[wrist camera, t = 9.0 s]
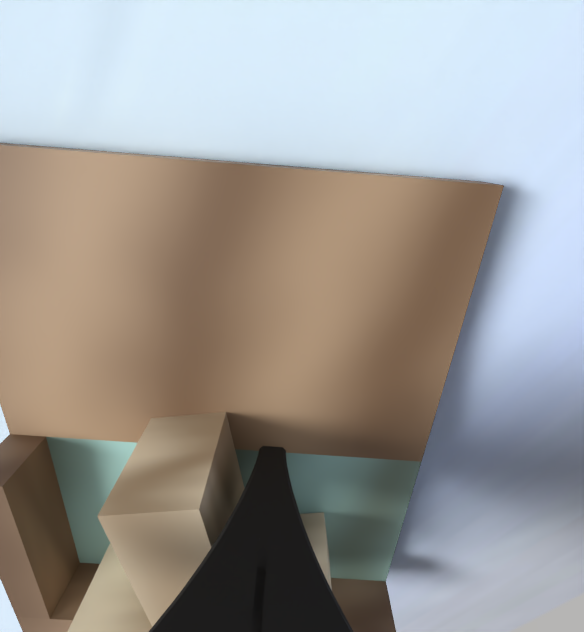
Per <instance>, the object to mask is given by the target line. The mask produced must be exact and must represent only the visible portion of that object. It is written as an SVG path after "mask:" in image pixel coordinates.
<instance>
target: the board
mask: <svg viewBox="0 0 584 632" xmlns="http://www.w3.org/2000/svg"><path fill="white" fill-rule="evenodd" d="M503 187H504V185H498V184H492V183H486V182H480V181H467V180H455V179H442V178H430V177H418V176H405V175H393V174H380V173H368V172H356V171H343V170H331V169H318V168H306V167H293V166H281V165H269V164H256V163H244V162H231V161H219V160H207V159H194V158H182V157H169V156H157V155H145V154H132V153H120V152H107V151H95V150H83V149H70V148H58V147H45V146H33V145H21V144H8V143H0V404H1V407H2V411H3V414H4V417H5V420H6V423H7V426H8V429H9V432H10V435H9V436H8V437H7V438H6V439H5V440H4V441H3V442H2V443H1V444H0V579H1V581H2V584H3V586H4V588H5V591H6V593H7V595H8V598H9V600H10V602H11V605H12V607H13V609H14V612H15V614H16V616H17V619H18V621H19V624H20V626H21V628H22V631H23V632H68V629H69V627H70V625H71V623H72V621H73V619H74V617H75V615H76V613H77V611H78V609H79V607H80V605H81V602H82V600H83V598H84V596H85V594H86V592H87V590H88V588H89V586H90V584H91V582H92V580H93V577H94V575H95V573H96V571H97V569H98V567H99V565H100V563H101V561H102V559H103V557H104V555H105V553H106V550H107V548H108V546H109V544H110V541H109V539H108V537H107V535H106V533H105V531H104V529H103V527H102V525H101V523H100V521H99V519H98V517H97V516H98V514H99V512H100V510H101V508H102V507H103V505H104V503H105V501H106V499H107V498H108V496H109V494H110V492H111V490H112V488H113V487H114V485H115V483H116V481H117V479H118V478H119V476H120V474H121V472H122V470H123V469H124V467H125V465H126V463H127V461H128V459H129V458H130V456H131V454H132V452H133V450H134V449H135V447H136V445H137V443H138V441H139V439H140V438H141V436H142V434H143V432H144V430H145V429H146V427H147V425H148V423H149V421H150V420H151V418H163V417H174V416H186V415H197V414H209V413H221V412H226V414H227V418H228V422H229V426H230V431H231V435H232V439H233V443H234V447H235V451H236V455H237V459H238V464H239V468H240V472H241V476H242V480H243V484H244V488H245V486H246V484H247V482H248V480H249V478H250V475H251V473H252V471H253V468H254V465H255V463H256V460H257V457H258V453H259V449H260V448H261V447H262V446H272V447H283V448H284V449H285V450H286V460H287V467H288V472H289V477H290V481H291V486H292V489H293V493H294V496H295V500H296V503H297V506H298V510H299V513H300V514H306V513H321V512H324V517H325V525H326V534H327V542H328V550H329V561H330V574H331V587H332V592H333V594H334V596H335V598H336V600H337V602H338V604H339V606H340V607H341V609H342V611H343V613H344V615H345V617H346V619H347V621H348V622H349V624H350V626H351V628H352V630H353V632H396V630H395V625H394V620H393V615H392V610H391V605H390V600H389V595H388V590H387V585H386V578H387V575H388V572H389V568H390V565H391V562H392V558H393V555H394V552H395V548H396V545H397V542H398V538H399V535H400V532H401V528H402V525H403V521H404V518H405V515H406V511H407V508H408V505H409V501H410V498H411V495H412V491H413V488H414V485H415V481H416V478H417V475H418V471H419V468H420V465H421V461H422V458H423V454H424V451H425V448H426V444H427V441H428V438H429V434H430V431H431V428H432V424H433V421H434V418H435V414H436V411H437V408H438V404H439V401H440V398H441V394H442V391H443V387H444V384H445V381H446V377H447V374H448V371H449V367H450V364H451V361H452V357H453V354H454V351H455V347H456V344H457V341H458V337H459V334H460V331H461V327H462V324H463V321H464V317H465V314H466V310H467V307H468V304H469V300H470V297H471V294H472V290H473V287H474V284H475V280H476V277H477V274H478V270H479V267H480V264H481V260H482V257H483V254H484V250H485V247H486V243H487V240H488V237H489V233H490V230H491V227H492V223H493V220H494V217H495V213H496V210H497V207H498V203H499V200H500V197H501V193H502V190H503Z"/></svg>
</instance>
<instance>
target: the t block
mask: <svg viewBox="0 0 584 632" xmlns="http://www.w3.org/2000/svg"><path fill="white" fill-rule="evenodd" d="M244 489H245V488H244V484H243V480H242V476H241V472H240V468H239V464H238V459H237V455H236V451H235V447H234V443H233V439H232V435H231V431H230V426H229V422H228V418H227V414H226V412H221V413H209V414H197V415H186V416H174V417H163V418H151V420H150V421H149V423H148V425H147V427H146V429H145V430H144V432H143V434H142V436H141V438H140V439H139V441H138V443H137V445H136V447H135V449H134V450H133V452H132V454H131V456H130V458H129V459H128V461H127V463H126V465H125V467H124V469H123V470H122V472H121V474H120V476H119V478H118V479H117V481H116V483H115V485H114V487H113V488H112V490H111V492H110V494H109V496H108V498H107V499H106V501H105V503H104V505H103V507H102V508H101V510H100V512H99V514H98V516H97V517H98V519H99V521H100V523H101V525H102V527H103V529H104V531H105V533H106V535H107V537H108V539H109V541H110V544H109V546H108V548H107V550H106V553H105V555H104V557H103V559H102V561H101V563H100V565H99V567H98V569H97V571H96V573H95V575H94V577H93V580H92V582H91V584H90V586H89V588H88V590H87V592H86V594H85V596H84V598H83V600H82V602H81V605H80V607H79V609H78V611H77V613H76V615H75V617H74V619H73V621H72V623H71V625H70V627H69V629H68V632H149V630H150V629H151V628H152V627H153V626H154V624H155V623H156V622H157V621H158V619H159V618H160V617H161V616H162V614H163V613H164V612H165V611H166V610H167V608H168V607H169V606H170V605H171V603H172V602H173V601H174V600H175V598H176V597H177V596H178V594H179V593H180V592H181V590H182V589H183V588H184V586H185V585H186V584H187V582H188V581H189V579H190V578H191V577H192V575H193V574H194V572H195V571H196V570H197V568H198V567H199V565H200V564H201V563H202V561H203V560H204V558H205V557H206V555H207V554H208V552H209V551H210V549H211V547H212V546H213V544H214V543H215V541H216V540H217V538H218V536H219V535H220V533H221V531H222V530H223V528H224V526H225V524H226V523H227V521H228V519H229V517H230V516H231V514H232V512H233V510H234V508H235V507H236V505H237V503H238V501H239V499H240V497H241V495H242V493H243V491H244ZM300 516H301V519H302V522H303V524H304V527H305V530H306V533H307V535H308V538H309V541H310V543H311V546H312V548H313V550H314V553H315V555H316V558H317V560H318V562H319V564H320V567H321V569H322V571H323V573H324V575H325V578H326V580H327V582H328V584H329V586H330V588H331V590H332V587H331V574H330V561H329V550H328V542H327V534H326V525H325V517H324V512H321V513H306V514H300Z"/></svg>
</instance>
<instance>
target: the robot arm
mask: <svg viewBox="0 0 584 632" xmlns="http://www.w3.org/2000/svg"><path fill="white" fill-rule="evenodd" d="M149 632H353V630H352V628H351V626H350V624H349V622H348V621H347V619H346V617H345V615H344V613H343V611H342V609H341V607H340V606H339V604H338V602H337V600H336V598H335V596H334V594H333V592H332V590H331V588H330V586H329V584H328V582H327V580H326V578H325V575H324V573H323V571H322V569H321V567H320V564H319V562H318V560H317V558H316V555H315V553H314V550H313V548H312V546H311V543H310V541H309V538H308V535H307V533H306V530H305V527H304V524H303V522H302V519H301V516H300V513H299V510H298V506H297V503H296V500H295V496H294V493H293V489H292V486H291V481H290V477H289V472H288V467H287V460H286V450H285V449H284V448H283V447H272V446H262V447H261V448H260V449H259V453H258V457H257V460H256V463H255V465H254V468H253V471H252V473H251V475H250V478H249V480H248V482H247V484H246V486H245V489H244V491H243V493H242V495H241V497H240V499H239V501H238V503H237V505H236V507H235V508H234V510H233V512H232V514H231V516H230V517H229V519H228V521H227V523H226V524H225V526H224V528H223V530H222V531H221V533H220V535H219V536H218V538H217V540H216V541H215V543H214V544H213V546H212V547H211V549H210V551H209V552H208V554H207V555H206V557H205V558H204V560H203V561H202V563H201V564H200V565H199V567H198V568H197V570H196V571H195V572H194V574H193V575H192V577H191V578H190V579H189V581H188V582H187V584H186V585H185V586H184V588H183V589H182V590H181V592H180V593H179V594H178V596H177V597H176V598H175V600H174V601H173V602H172V603H171V605H170V606H169V607H168V608H167V610H166V611H165V612H164V613H163V614H162V616H161V617H160V618H159V619H158V621H157V622H156V623H155V624H154V626H153V627H152V628H151V629H150V630H149Z"/></svg>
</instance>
